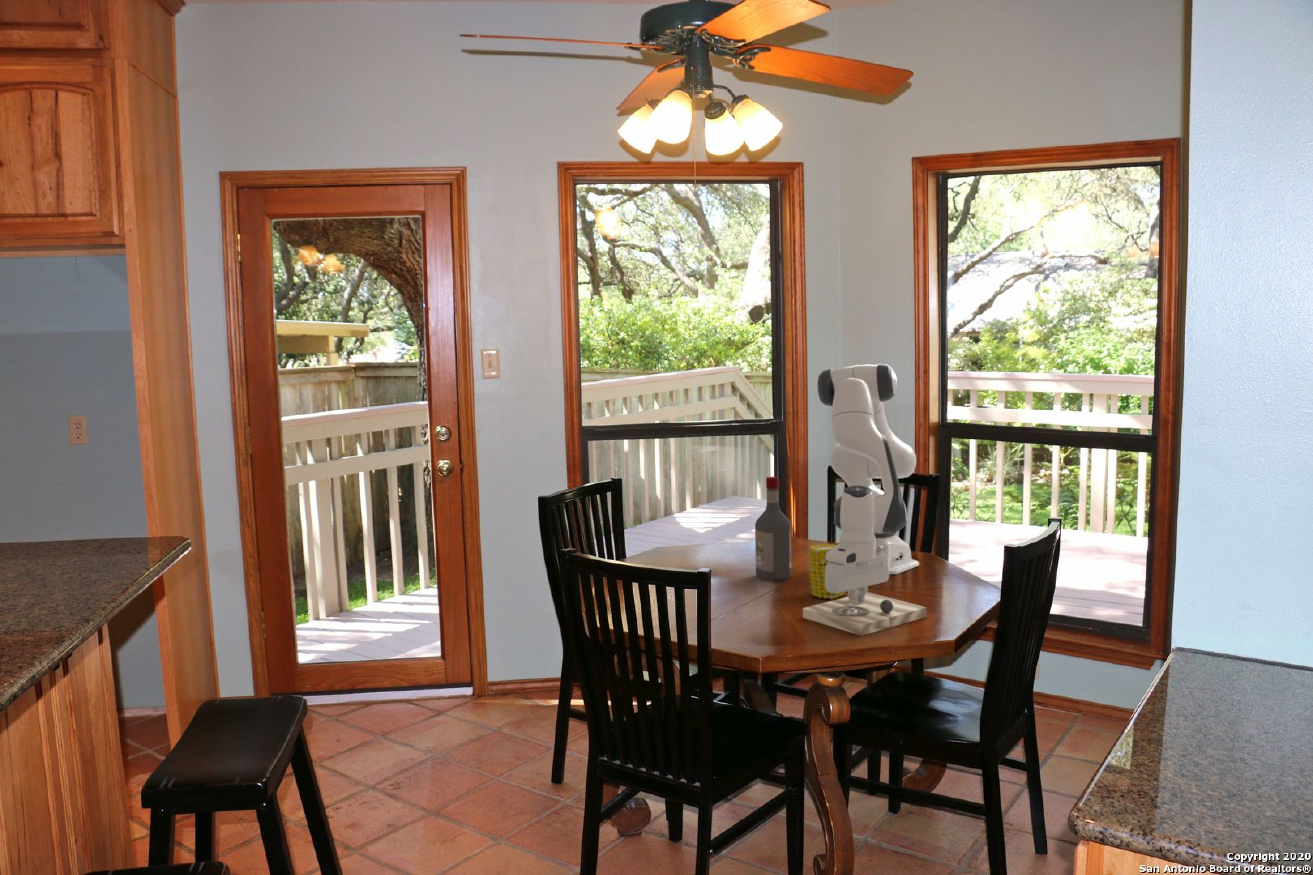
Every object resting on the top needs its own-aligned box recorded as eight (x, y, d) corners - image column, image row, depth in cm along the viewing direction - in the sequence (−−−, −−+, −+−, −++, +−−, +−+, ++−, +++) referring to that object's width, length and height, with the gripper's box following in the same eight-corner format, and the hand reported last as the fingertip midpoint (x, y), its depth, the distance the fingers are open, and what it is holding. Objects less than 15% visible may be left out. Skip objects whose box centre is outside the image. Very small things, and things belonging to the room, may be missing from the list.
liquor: (768, 582, 297) (766, 480, 293) (752, 575, 305) (751, 476, 302) (794, 578, 300) (793, 478, 297) (778, 571, 309) (777, 474, 305)
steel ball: (852, 613, 259) (844, 607, 258) (862, 611, 257) (854, 604, 256) (850, 624, 257) (842, 617, 256) (860, 621, 255) (852, 615, 254)
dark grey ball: (885, 609, 257) (886, 597, 256) (895, 612, 254) (895, 600, 254) (877, 612, 255) (877, 599, 254) (887, 615, 252) (887, 602, 252)
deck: (866, 600, 274) (866, 591, 274) (926, 616, 258) (926, 607, 258) (802, 617, 260) (802, 608, 260) (861, 635, 244) (861, 625, 244)
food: (825, 607, 274) (805, 600, 284) (860, 592, 279) (840, 585, 288) (813, 554, 272) (793, 549, 281) (848, 540, 276) (828, 535, 286)
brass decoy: (853, 598, 268) (853, 586, 268) (862, 600, 266) (862, 588, 265) (844, 600, 266) (844, 588, 266) (853, 602, 264) (853, 590, 263)
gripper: (876, 542, 264) (876, 594, 266) (820, 554, 252) (820, 608, 254) (895, 546, 259) (894, 599, 261) (839, 559, 247) (839, 614, 249)
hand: (857, 604), depth 257 cm, fingers closed
